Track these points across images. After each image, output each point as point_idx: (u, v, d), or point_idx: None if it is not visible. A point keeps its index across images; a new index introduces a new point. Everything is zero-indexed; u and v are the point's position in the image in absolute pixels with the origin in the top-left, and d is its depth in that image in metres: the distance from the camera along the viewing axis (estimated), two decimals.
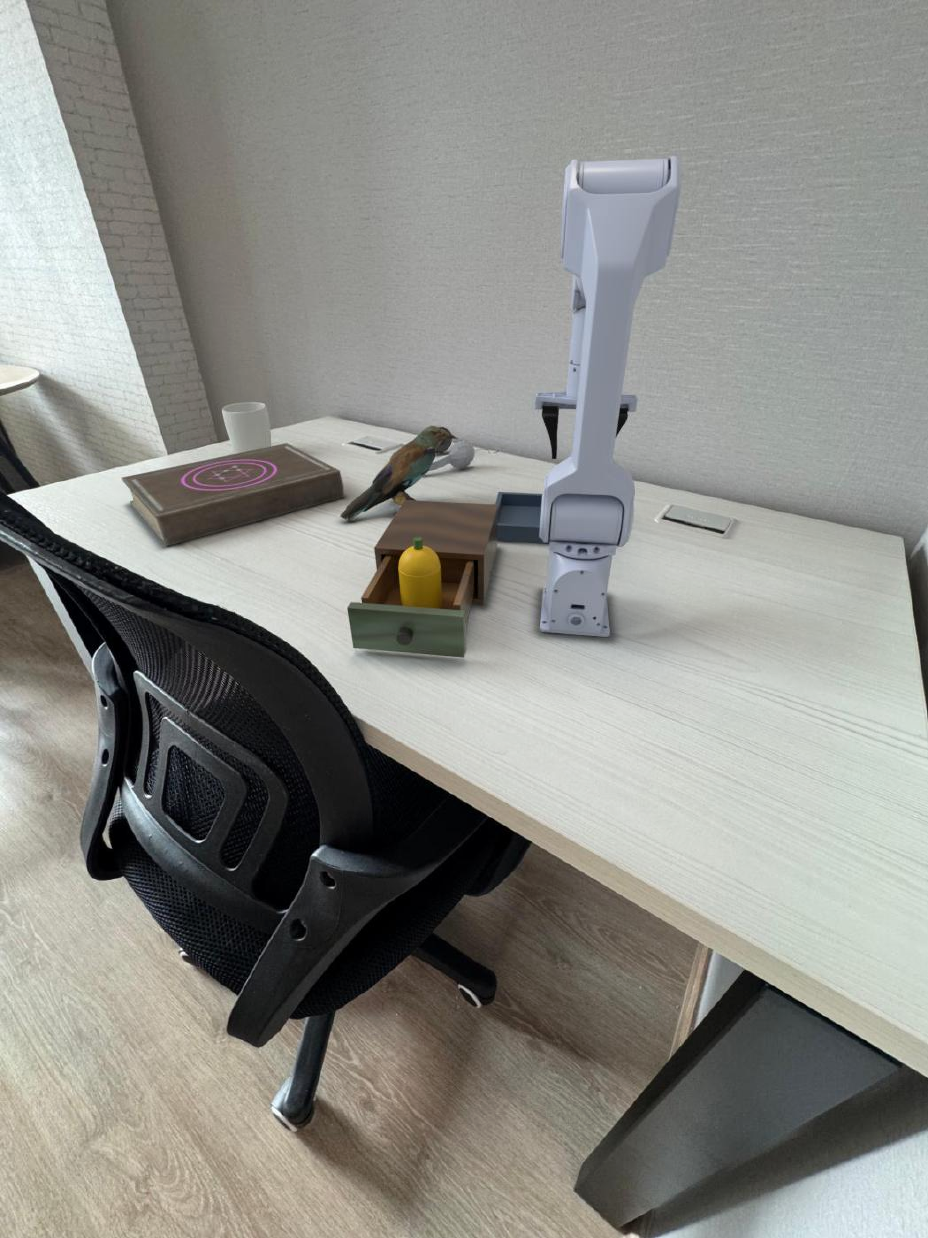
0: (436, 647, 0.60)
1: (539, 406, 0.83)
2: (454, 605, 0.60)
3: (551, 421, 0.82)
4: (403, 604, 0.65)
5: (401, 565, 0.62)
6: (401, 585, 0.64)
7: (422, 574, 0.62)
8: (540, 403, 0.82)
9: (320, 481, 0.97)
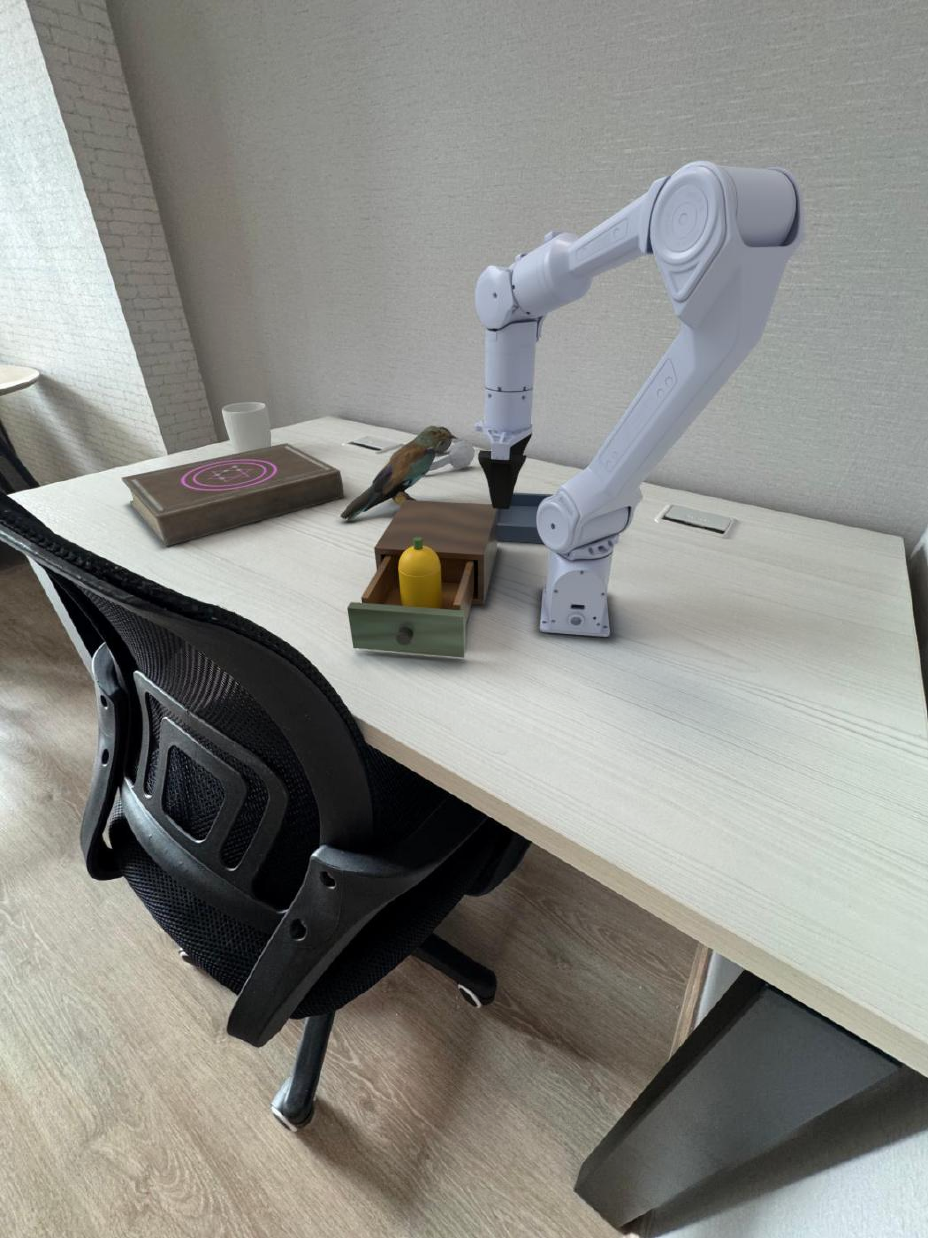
0: (436, 647, 0.60)
1: (509, 454, 0.64)
2: (454, 605, 0.60)
3: None
4: (403, 604, 0.65)
5: (401, 565, 0.62)
6: (401, 585, 0.64)
7: (422, 574, 0.62)
8: (509, 450, 0.64)
9: (320, 481, 0.97)
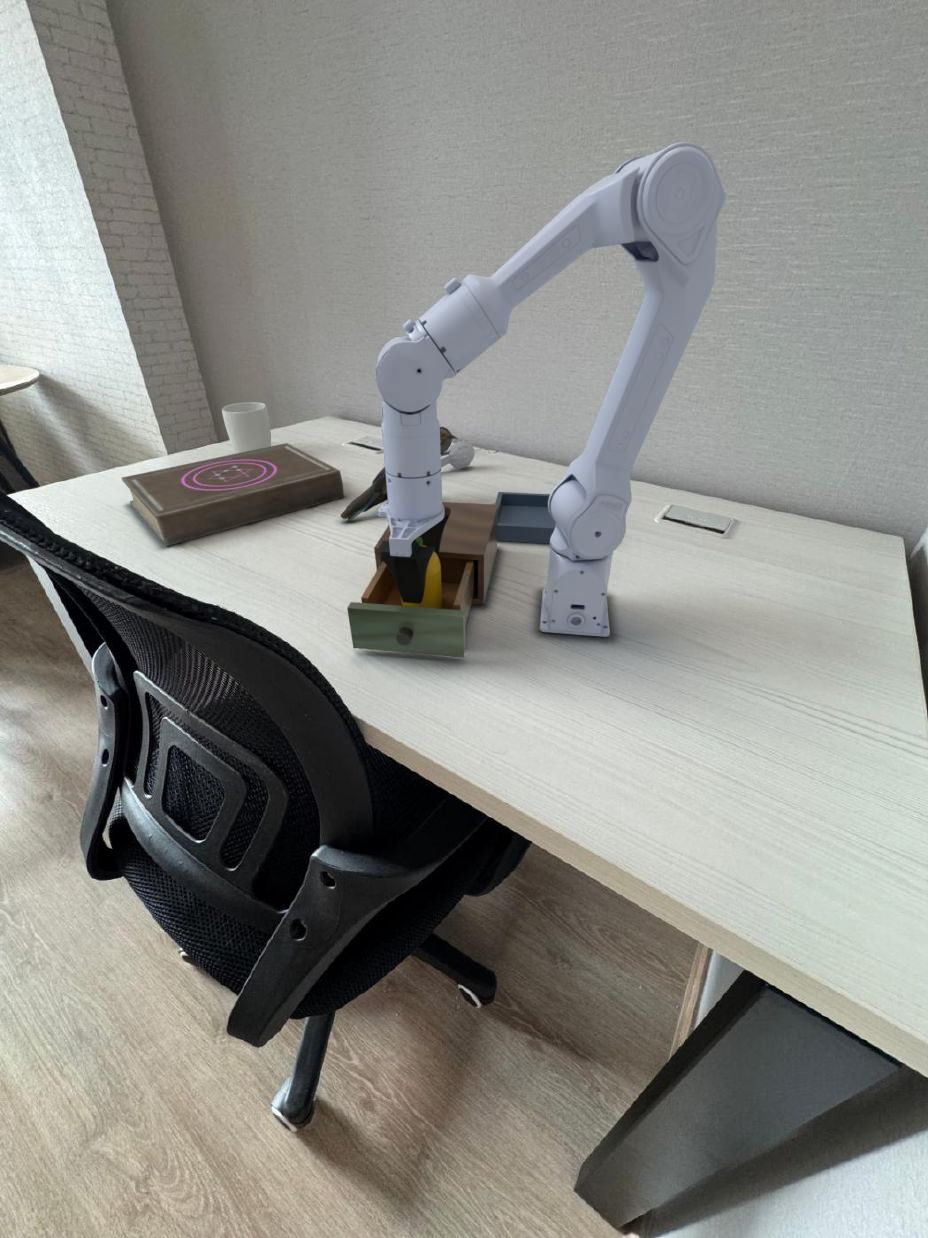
0: (436, 647, 0.60)
1: (411, 550, 0.55)
2: (454, 605, 0.60)
3: None
4: (403, 604, 0.65)
5: None
6: None
7: None
8: (411, 545, 0.55)
9: (320, 481, 0.97)
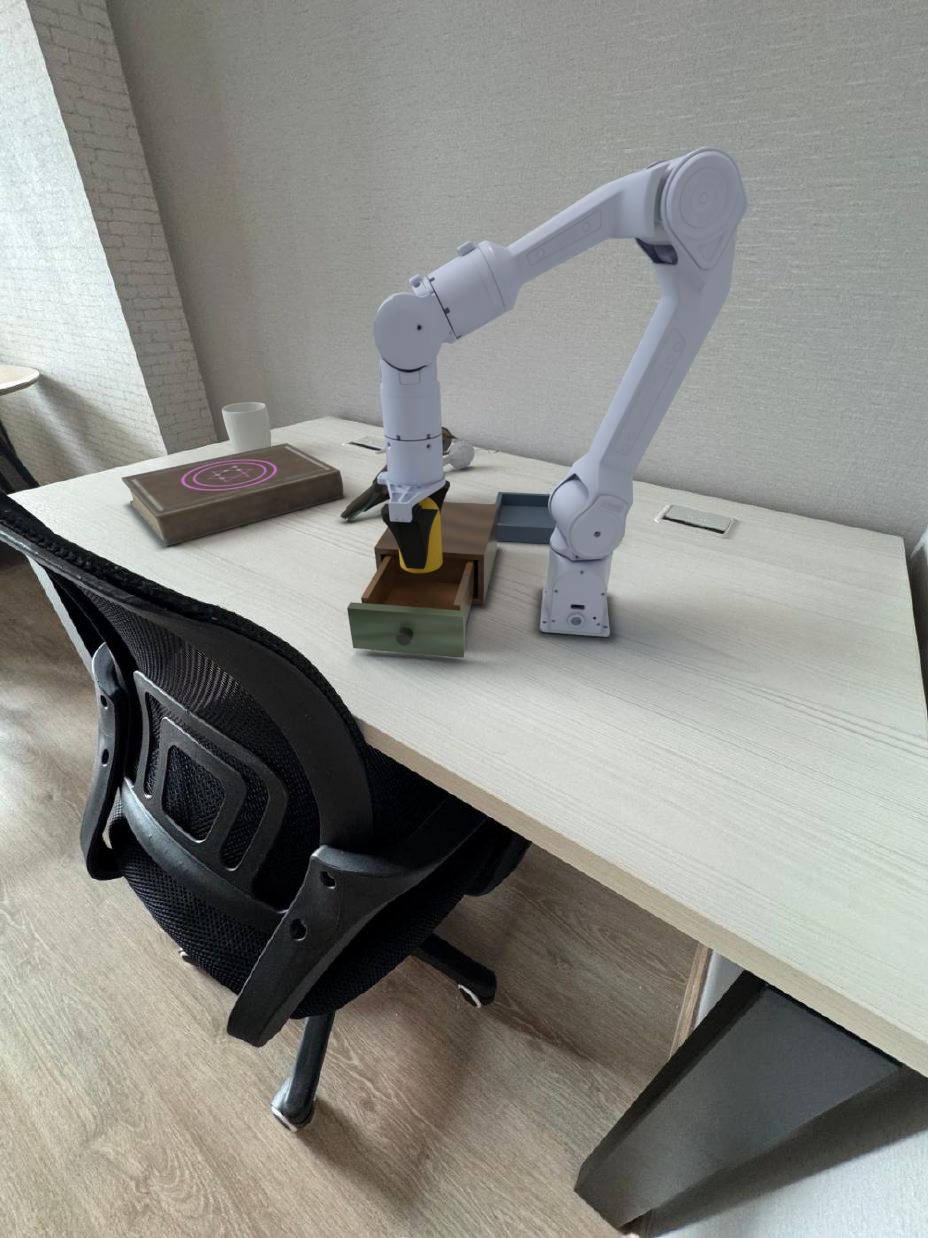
0: (436, 647, 0.60)
1: (411, 515, 0.53)
2: (454, 605, 0.60)
3: (433, 520, 0.57)
4: (401, 558, 0.62)
5: None
6: None
7: None
8: (411, 510, 0.53)
9: (320, 481, 0.97)
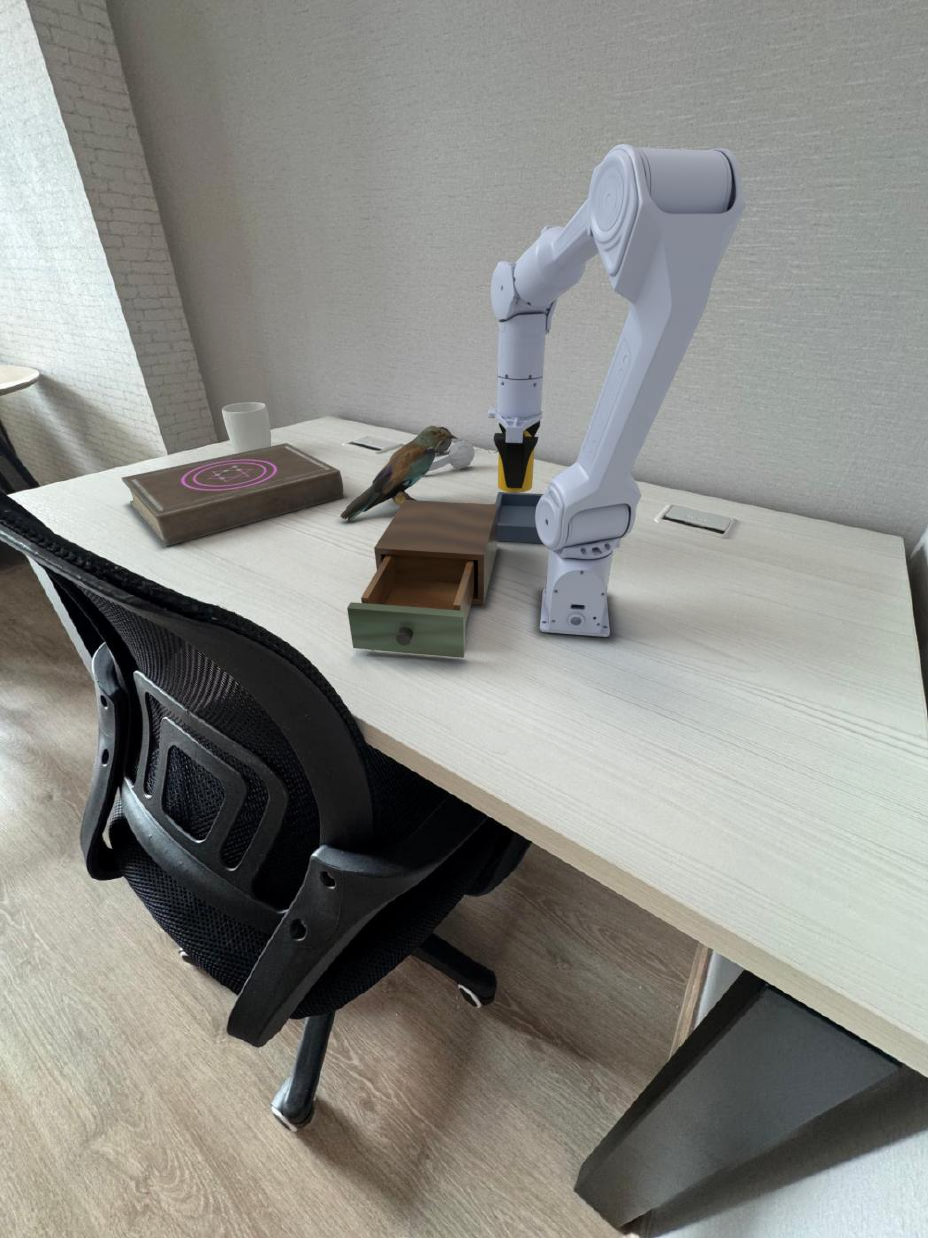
0: (436, 647, 0.60)
1: None
2: (454, 605, 0.60)
3: None
4: (501, 480, 0.77)
5: None
6: (501, 462, 0.75)
7: None
8: None
9: (320, 481, 0.97)
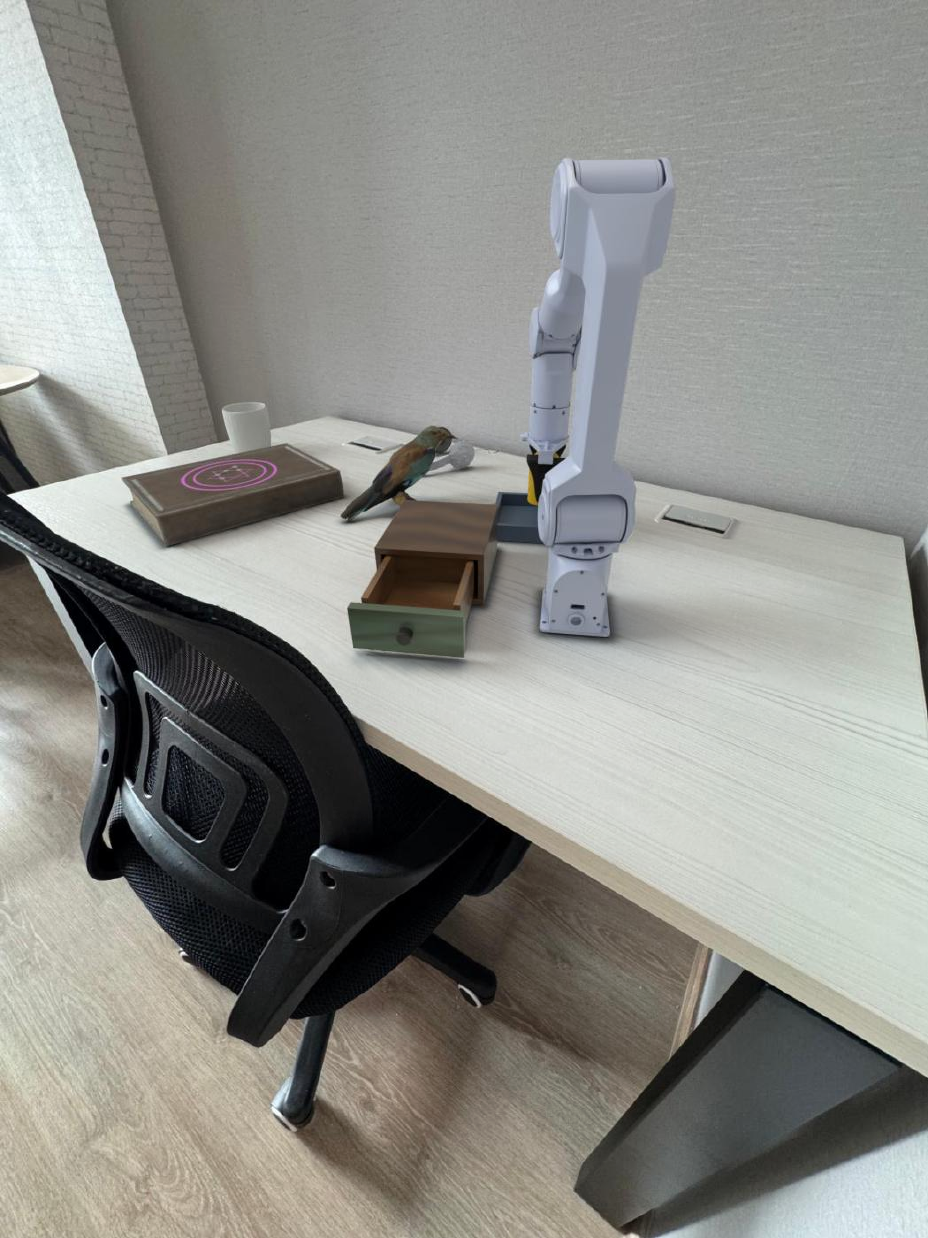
0: (436, 647, 0.60)
1: (552, 459, 0.78)
2: (454, 605, 0.60)
3: None
4: (531, 495, 0.87)
5: None
6: (531, 479, 0.85)
7: None
8: None
9: (320, 481, 0.97)
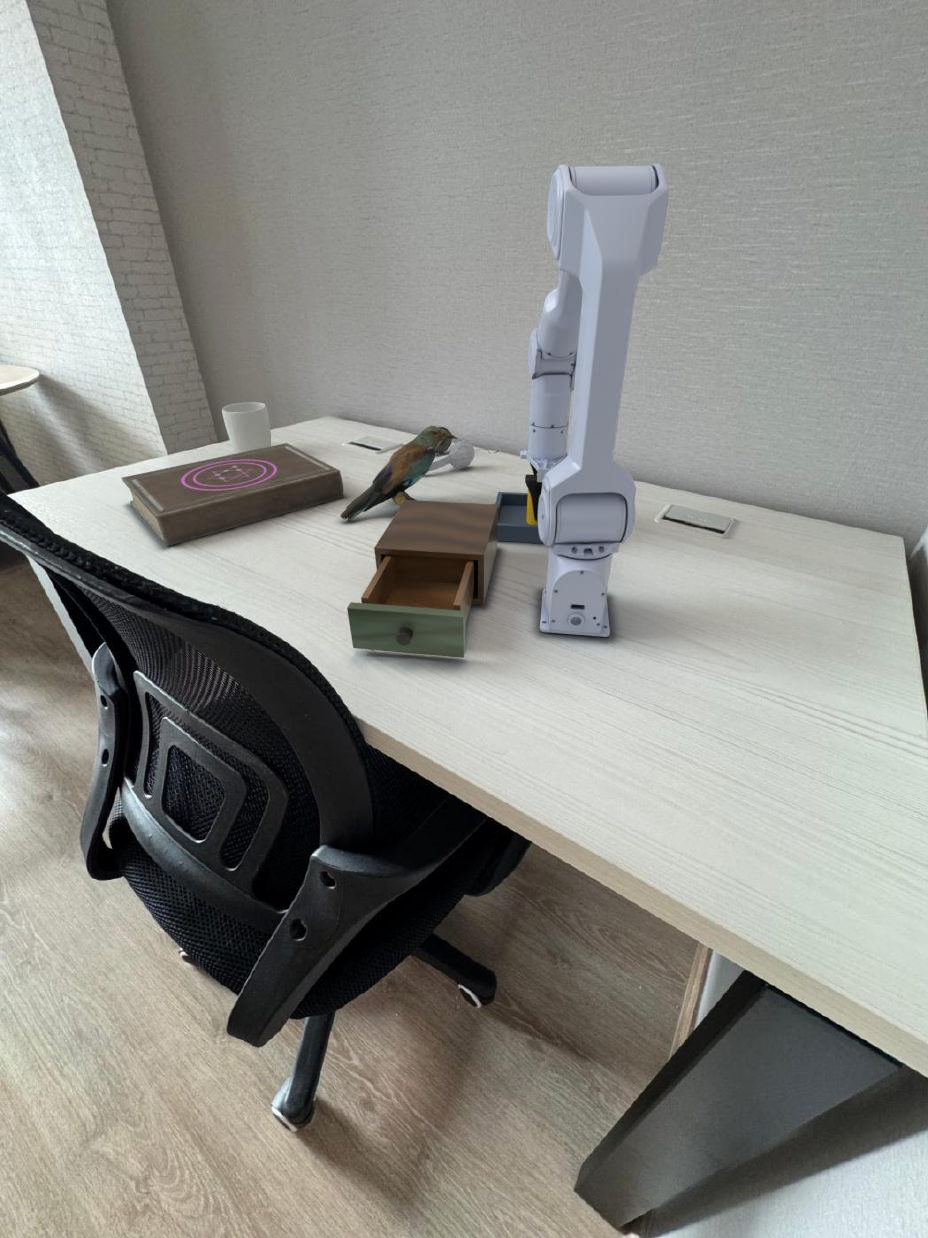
0: (436, 647, 0.60)
1: None
2: (454, 605, 0.60)
3: None
4: (529, 517, 0.89)
5: None
6: (530, 502, 0.87)
7: None
8: None
9: (320, 481, 0.97)
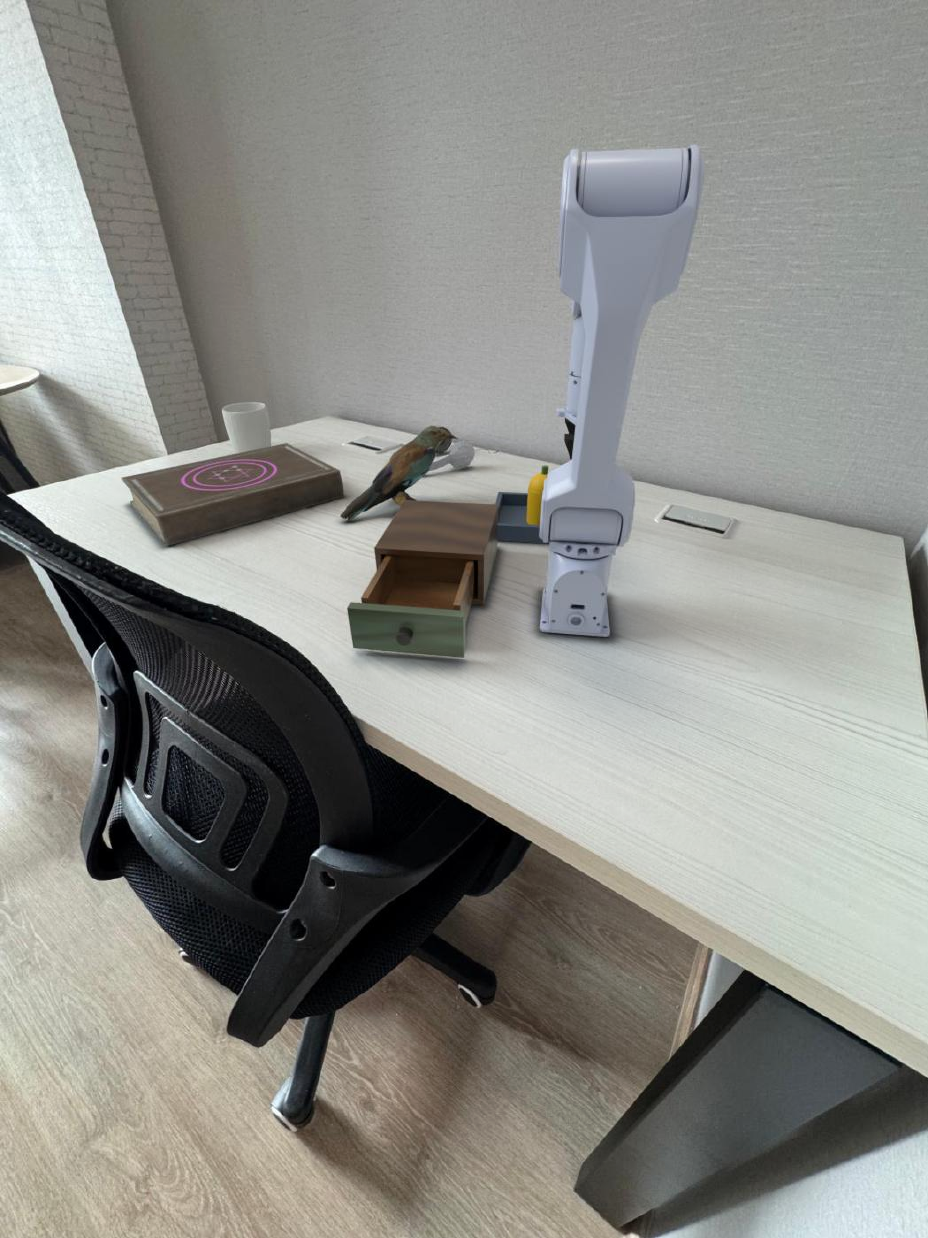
0: (436, 647, 0.60)
1: None
2: (454, 605, 0.60)
3: None
4: (529, 517, 0.89)
5: (532, 486, 0.86)
6: (530, 502, 0.87)
7: None
8: None
9: (320, 481, 0.97)
